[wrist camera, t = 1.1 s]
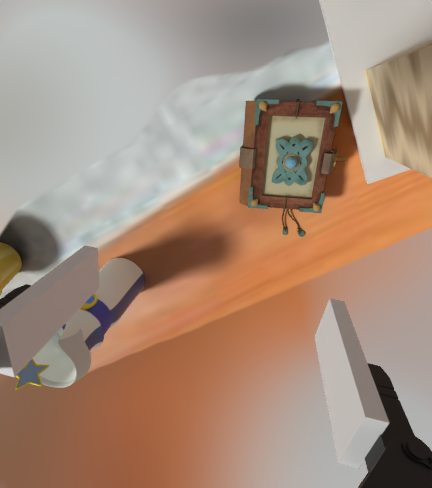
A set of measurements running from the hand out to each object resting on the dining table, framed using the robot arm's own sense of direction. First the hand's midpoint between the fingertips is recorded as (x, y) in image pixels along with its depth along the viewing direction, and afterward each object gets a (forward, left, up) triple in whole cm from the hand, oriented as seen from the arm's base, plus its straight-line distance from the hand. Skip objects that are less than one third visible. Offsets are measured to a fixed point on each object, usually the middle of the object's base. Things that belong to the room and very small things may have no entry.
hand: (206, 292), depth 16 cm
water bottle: (+7, -26, -27) cm, 38 cm away
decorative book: (+1, +6, -27) cm, 28 cm away
